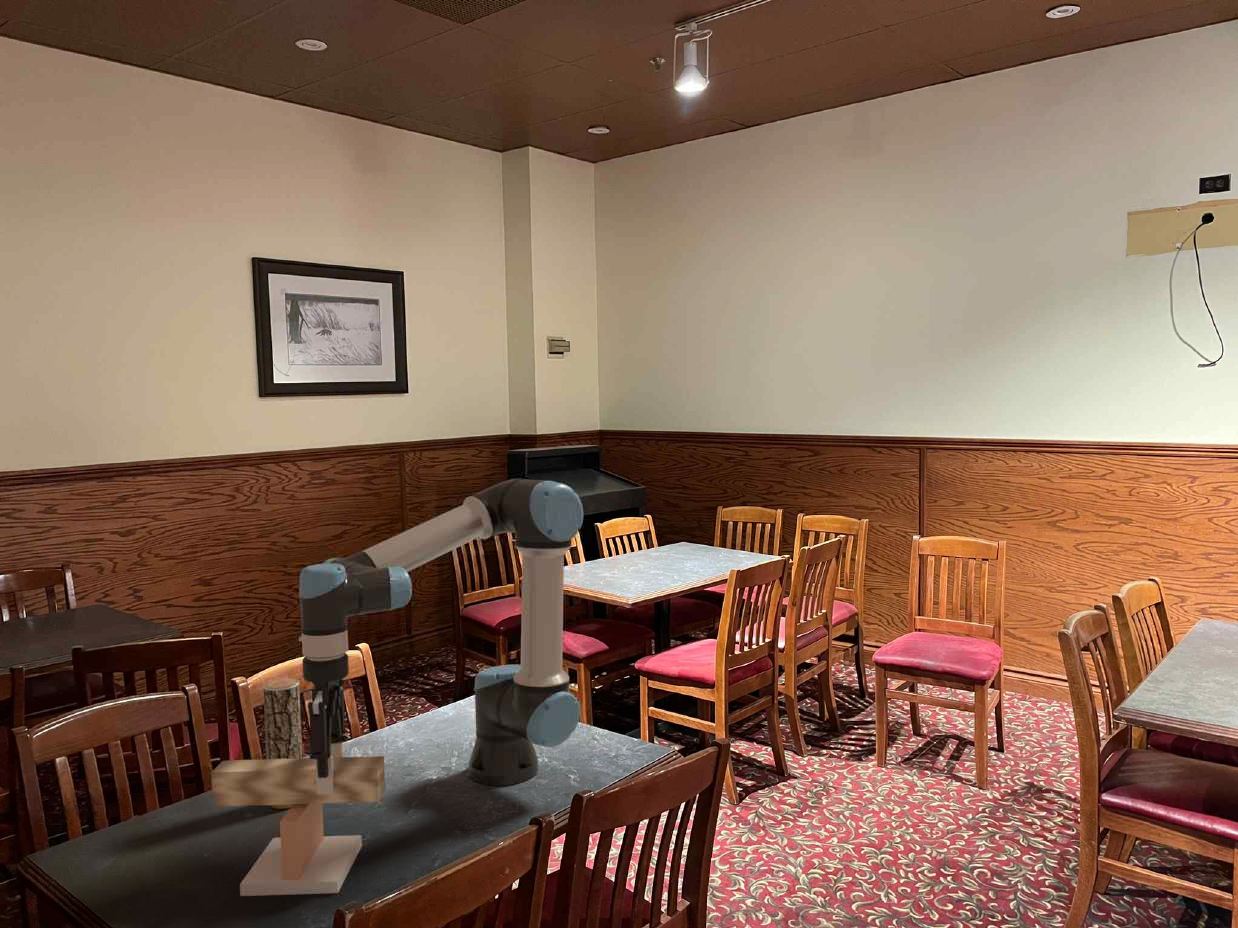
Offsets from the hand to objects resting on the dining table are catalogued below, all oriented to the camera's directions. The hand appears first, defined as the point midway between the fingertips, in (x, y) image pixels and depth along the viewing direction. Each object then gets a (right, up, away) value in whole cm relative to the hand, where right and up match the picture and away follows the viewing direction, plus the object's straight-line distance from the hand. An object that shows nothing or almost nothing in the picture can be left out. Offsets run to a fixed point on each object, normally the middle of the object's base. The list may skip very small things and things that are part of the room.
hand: (330, 786), depth 158 cm
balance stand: (-5, -15, +1) cm, 16 cm away
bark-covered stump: (-18, -13, +27) cm, 35 cm away
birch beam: (-5, -2, 0) cm, 5 cm away
